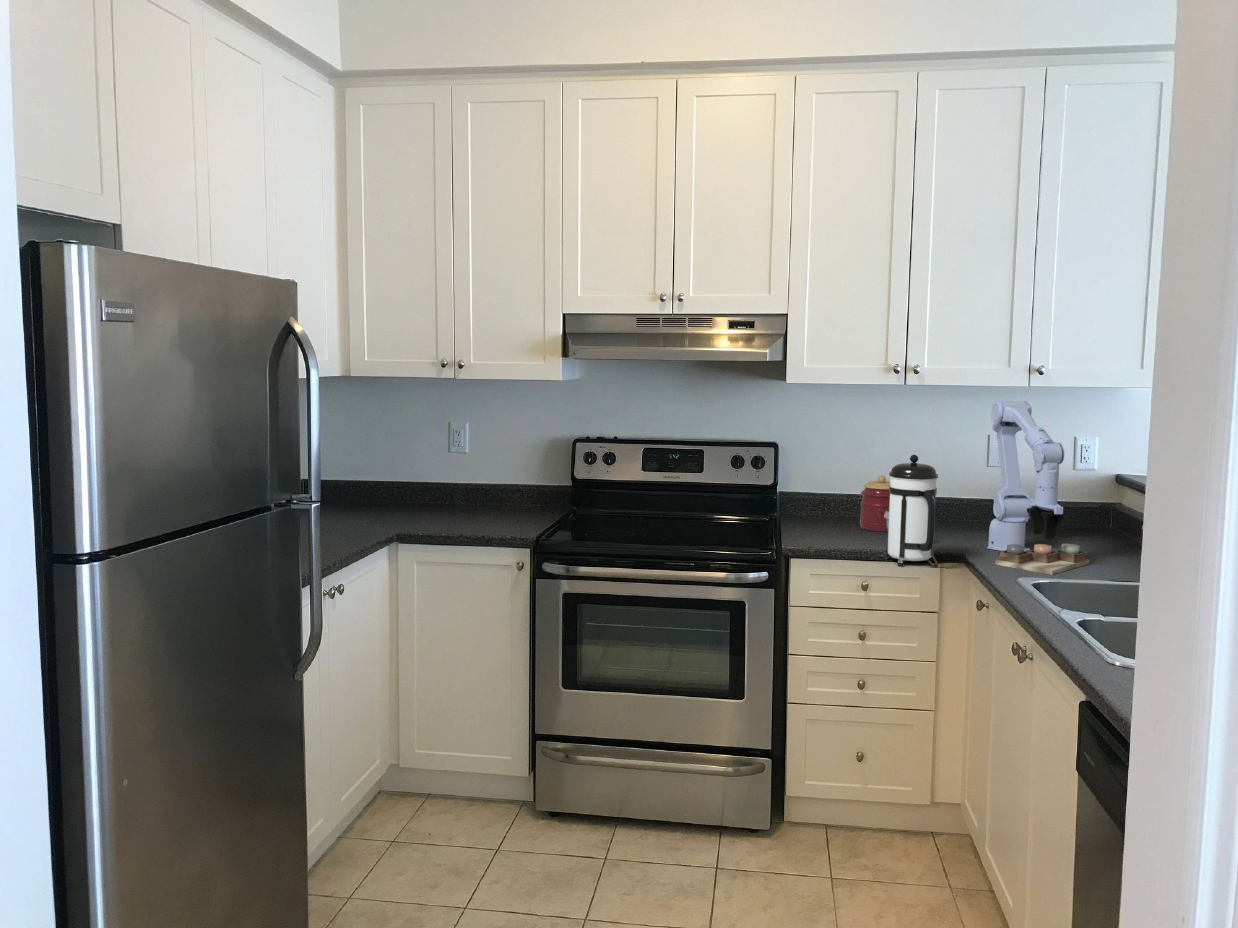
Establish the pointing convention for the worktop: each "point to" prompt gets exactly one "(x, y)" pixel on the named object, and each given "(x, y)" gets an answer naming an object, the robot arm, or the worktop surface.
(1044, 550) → the terracotta button
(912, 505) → the coffee press
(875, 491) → the canister
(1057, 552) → the button panel
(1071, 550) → the sage button
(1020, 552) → the charcoal button
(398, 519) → the worktop surface
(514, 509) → the worktop surface
